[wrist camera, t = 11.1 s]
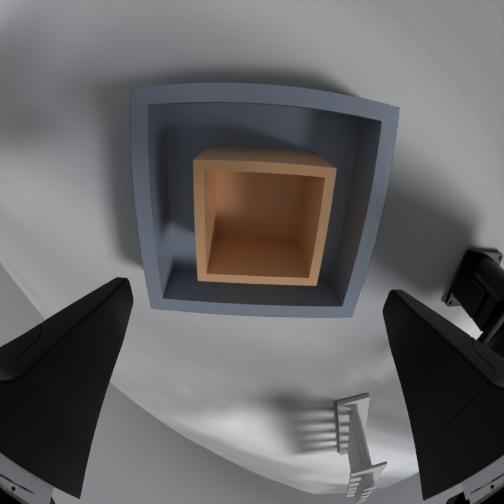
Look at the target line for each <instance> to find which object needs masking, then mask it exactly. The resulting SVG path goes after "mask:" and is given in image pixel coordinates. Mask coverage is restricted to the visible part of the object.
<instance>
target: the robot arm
mask: <svg viewBox="0 0 504 504" xmlns="http://www.w3.org/2000/svg"><path fill="white" fill-rule="evenodd" d="M502 258H503V254H502V253H500V252H494V251H485V250H475V249H469V250H468V251H467V252H466V254H465V256H464V259H463V262H462V264H461V267H460V269H459V271H458V274H457V276H456V279H455V281H454V283H453V285H452V288H451V290H450V292H449V294H448V296H447V298H446V300H445V304H446V305H447V306H448V307H450V306H462V307H463V309H464V310H465V311H466V313H467V314H468V315H469V317H470V318H472V319H473V321H474V322H475V324H476V325H477V326H478V328H479V329H480V331H483V333H482V334H481V335H480V337H479V338H478V339H477V340H476V339H474V338H473V337H471V336H470V335H468V334H467V333H466V332H464V331H463V330H461V329H460V328H458V327H457V326H455V325H454V324H453V323H451V322H450V321H448V320H447V319H445V318H444V317H442V316H441V315H439V314H438V313H436V312H435V311H433V310H432V309H430V308H429V307H427V306H426V305H424V304H423V303H421V302H420V301H418V300H417V299H415V298H414V297H412V296H410V295H409V294H407V293H406V292H404V291H403V290H391V291H390V292H389V294H388V297H387V300H386V302H385V305H384V307H383V317H384V321H385V326H386V330H387V335H388V340H389V344H390V349H391V352H392V356H393V359H394V363H395V366H396V369H397V373H398V376H399V380H400V384H401V387H402V391H403V395H404V399H405V403H406V407H407V411H408V415H409V420H410V424H411V429H412V433H413V438H414V443H415V449H416V455H417V461H418V467H419V473H420V480H421V487H422V496H423V500H426V499H429V498H431V497H433V496H435V495H438V494H440V493H442V492H444V491H446V490H448V489H450V488H452V487H454V486H456V485H458V484H460V483H461V484H462V487H463V492H461V493H459V494H457V495H455V496H453V497H452V498H450V499H448V500H447V502H446V504H504V269H503V268H501V267H500V266H499V265H500V263H501V260H502ZM132 306H133V295H132V290H131V286H130V282H129V280H128V279H127V278H121V277H117V278H115V279H113V280H111V281H110V282H108V283H106V284H104V285H103V286H101V287H99V288H98V289H96V290H94V291H92V292H91V293H89V294H87V295H86V296H84V297H82V298H81V299H79V300H77V301H76V302H74V303H72V304H71V305H69V306H67V307H66V308H64V309H63V310H61V311H59V312H58V313H56V314H54V315H53V316H51V317H50V318H48V319H47V320H45V321H43V322H42V323H40V324H39V325H37V326H36V327H34V328H32V329H31V330H29V331H28V332H26V333H24V334H23V335H21V336H19V337H17V338H16V339H14V340H12V341H10V342H9V343H7V344H5V345H3V346H1V347H0V504H55V502H54V500H53V498H52V492H53V488H54V487H55V488H57V489H59V490H61V491H63V492H65V493H67V494H70V495H71V496H74V497H76V498H78V499H80V496H81V491H82V486H83V481H84V475H85V471H86V466H87V462H88V457H89V453H90V449H91V444H92V440H93V436H94V432H95V429H96V425H97V421H98V417H99V414H100V411H101V407H102V404H103V400H104V397H105V394H106V391H107V387H108V384H109V381H110V378H111V375H112V372H113V369H114V366H115V363H116V361H117V358H118V355H119V352H120V349H121V346H122V343H123V341H124V337H125V333H126V329H127V325H128V321H129V317H130V313H131V310H132Z"/></svg>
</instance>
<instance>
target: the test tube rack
mask: <svg viewBox="0 0 504 504" xmlns="http://www.w3.org/2000/svg"><path fill="white" fill-rule="evenodd" d="M369 399H370V396H369V393H366V394H363V395H359V396H355V397H352V398H348V399H344V400H340V401H337V413H338V428H339V448H340V455H344V454H348V457H349V463H350V469H351V473H350V479H349V486H348V492H347V497H350V496H354V495H355V501H356V503H360V502H364V501H365V499H366V498H367V496H369V493H370V492H372V489H373V488H375V484H376V483H375V482H376V480H377V479H378V477H379V476H380V474H381V473H382V471H383V470H384V468H385V466H386V465H387V462H383V463H379V464H376V465H373V466H372V464H371V459H370V455H369V450H368V446H367V441H366V437H365V433H364V432H365V426H366V420H367V413H368V406H369Z"/></svg>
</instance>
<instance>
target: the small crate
mask: <svg viewBox="0 0 504 504" xmlns="http://www.w3.org/2000/svg"><path fill="white" fill-rule="evenodd" d="M336 170H337V168H336V167H334V166H333V165H332V164H330V163H329V162H328V161H326V160H325V159H324V158H322V157H321V156H320V155H318V154H317V153H315V152H311V151H301V150H290V149H277V148H261V147H239V146H209V147H208V148H207V149H206V150H204V151H203V152H202V153H201V154H200V155H199V156H197V157H196V158H195V159H194V160H193V180H194V217H195V241H196V259H197V275H198V281H209V282H228V283H249V284H274V285H307V286H317V281H318V276H319V271H320V266H321V261H322V256H323V251H324V245H325V240H326V234H327V229H328V223H329V217H330V211H331V204H332V198H333V191H334V184H335V177H336Z"/></svg>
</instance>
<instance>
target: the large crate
mask: <svg viewBox="0 0 504 504" xmlns="http://www.w3.org/2000/svg"><path fill="white" fill-rule="evenodd" d="M398 118H399V107H395V106H392V105H388V104H384V103H380V102H376V101H372V100H368V99H364V98H359V97H355V96H350V95H345V94H339V93H334V92H328V91H322V90H315V89H308V88H300V87H292V86H282V85H270V84H255V83H184V84H169V85H158V86H148V87H140V88H132V89H131V101H130V128H131V158H132V175H133V188H134V199H135V209H136V218H137V227H138V234H139V242H140V249H141V255H142V262H143V268H144V274H145V279H146V285H147V290H148V295H149V300H150V305H151V308H152V309H161V310H172V311H183V312H195V313H208V314H223V315H241V316H264V317H304V318H345V317H352V315H353V312H354V310H355V307H356V304H357V301H358V298H359V295H360V292H361V289H362V285H363V282H364V279H365V276H366V272H367V269H368V266H369V262H370V259H371V255H372V252H373V248H374V244H375V240H376V236H377V233H378V229H379V224H380V220H381V216H382V212H383V207H384V203H385V198H386V193H387V188H388V183H389V178H390V172H391V167H392V161H393V155H394V148H395V141H396V134H397V126H398ZM209 146H239V147H261V148H277V149H290V150H301V151H311V152H315V153H317V154H318V155H320V156H321V157H322V158H324V159H325V160H326V161H328V162H329V163H330V164H332V165H333V166H334V167H336V168H337V170H336V177H335V184H334V191H333V198H332V204H331V211H330V217H329V223H328V229H327V234H326V240H325V245H324V251H323V256H322V261H321V266H320V271H319V276H318V281H317V286H307V285H274V284H249V283H228V282H209V281H198V275H197V259H196V241H195V217H194V180H193V160H194V159H195V158H196V157H197V156H199V155H200V154H201V153H202V152H203V151H204V150H206V149H207V148H208V147H209Z"/></svg>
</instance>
